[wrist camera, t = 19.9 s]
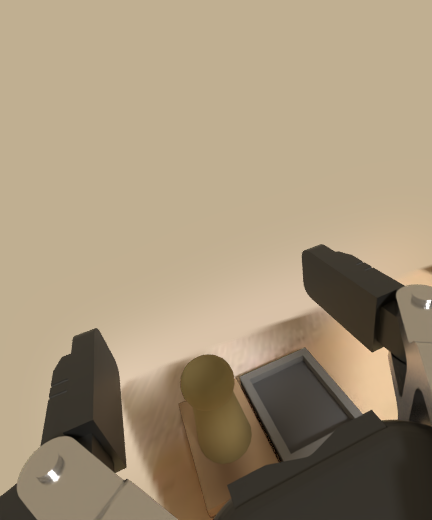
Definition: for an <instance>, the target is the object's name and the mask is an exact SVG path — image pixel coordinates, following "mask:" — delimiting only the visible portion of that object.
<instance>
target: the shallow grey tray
mask: <svg viewBox="0 0 432 520" xmlns="http://www.w3.org/2000/svg"><path fill="white" fill-rule="evenodd" d="M240 381H241V384H242V386H243V388H244V390H245V392H246V394H247V396H248V398H249V400H250V402H251V404H252V406H253V408H254V410H255V412H256V413H257V415H258V417H259V419H260V421H261V423H262V425H263V427H264V429H265V431H266V433H267V435H268V437H269V439H270V440H271V442H272V444H273V446H274V448H275V450H276V452H277V454H278V456H279V458H280V460H281V462H284V461H289V460H294V459H299V458H305V457H308V456H310V455H311V454H313V453H314V452H315V451H316V450H317V449H318V448H319V447H320V446H321V445H322V444H323V443H324V441H325V440H326V439H327V438H328V437H329V436H330V435H331V434H332V433H333V432H334V431H335V430H336V429H337V428H338V427H340V426H341V425H343V424H345V423H347V422H349V421H351V420H353V419H355V418H357V417H359V416H361V415H363V414H362V413H361V412H360V410H359V409H358V408H357V407H356V406H355V405H354V403H353V402H352V401H351V400H350V399H349V398H348V396H347V395H346V394H345V393H344V392H343V391H342V390H341V388H340V387H339V386H338V385H337V384H336V383H335V381H334V380H333V379H332V378H331V377H330V376H329V374H328V373H327V372H326V371H325V370H324V369H323V368H322V366H321V365H320V364H319V363H318V362H317V361H316V359H315V358H314V357H313V356H312V355H311V354H310V352H309V351H308V350H307V349H306V348H303V349H300V350H298V351H296V352H294V353H291V354H289V355H287V356H285V357H282V358H280V359H278V360H276V361H274V362H271V363H269V364H267V365H265V366H262V367H260V368H258V369H256V370H253V371H251V372H249V373H247V374H244V375H242V376H240Z"/></svg>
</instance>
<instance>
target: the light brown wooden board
mask: <svg viewBox="0 0 432 520" xmlns="http://www.w3.org/2000/svg"><path fill="white" fill-rule="evenodd" d="M234 382H235V384H234V389H233V392H234V394H235V396H236V398H237V400H238V402H239V404H240V406H241V408H242V410H243V412H244V414H245V416H246V418H247V420H248V422H249V424H250V426H251V432H252V437H251V443H250V445H249V447H248V449H247V451H246V452H245V453H244V454H243V455H242V456H241V457H240V458H239V459H237V460H236V461H234V462H232V463H226V464H220V463H215V462H213V461H211V460H209V459H208V458H206V456H205V455H204V454H203V452H202V451H201V448H200V445H199V441H198V435H197V429H196V424H195V418H194V412H193V407H192V406H191V405H190V404H189V403H188V402H187V401H184V402H182V403H180V404H179V408H180V412H181V415H182V419H183V423H184V426H185V430H186V434H187V437H188V441H189V445H190V449H191V452H192V456H193V460H194V463H195V467H196V471H197V474H198V478H199V482H200V486H201V489H202V493H203V497H204V500H205V504H206V508H207V511H208V513H209V515H210V517H213V516H215V515H216V514H217V513H218V512H219V511H220V509H221V508H222V507H223V506H224V505H225V504H226V503H227V502H228V501H229V500H230V499H231V496H230V493H229V490H228V487H227V485H228V484H230V483H232V482H234V481H236V480H238V479H239V478H241V477H243V476H245V475H247V474H249V473H251V472H253V471H255V470H257V469H259V468H261V467H263V466H264V465H268V464H273V463H279V462H278V460H277V458H276V456H275V454H274V452H273V450H272V448H271V446H270V444H269V442H268V440H267V438H266V436H265V434H264V432H263V430H262V428H261V426H260V424H259V422H258V420H257V418H256V417H255V415H254V413H253V411H252V409H251V407H250V405H249V403H248V401H247V399H246V397H245V395H244V393H243V391H242V389H241V387H240V385H239V383H238V381H237V379H234Z"/></svg>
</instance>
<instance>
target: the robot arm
mask: <svg viewBox="0 0 432 520" xmlns="http://www.w3.org/2000/svg"><path fill="white" fill-rule="evenodd" d="M302 266H303V282H304V287H305V290H306V292H307V294H308V295H309V296H310V297H311V298H312V299H313V300H314V301H315V302H316V303H317V304H318V305H319V306H321V307H322V308H323V309H324V310H325V311H326V312H327V313H328V314H330V315H331V316H332V317H333V318H334V319H335V320H336V321H337V322H338V323H340V324H341V325H342V326H343V327H344V328H345V329H346V330H347V331H349V332H350V333H351V334H352V335H353V336H354V337H355V338H356V339H358V340H359V341H360V342H361V343H362V344H363V345H364V346H365V347H367V348H368V349H369V350H370V351H371V352H374V351H376V350H378V349H380V348H382V347H385V348H386V349H388V350H389V353H388V359H389V365H390V370H391V375H392V380H393V385H394V390H395V396H396V401H397V407H398V420H382V421H381V420H380V419H379V418H378V416H377V415H376V414H375V413H374V412H373V411H372V410H370V411H368V412H367V413H365V414H363V415H361V416H359V417H357V418H355V419H353V420H351V421H349V422H347V423H345V424H343V425H341V426H340V427H338V428H337V429H336V430H335V431H334V432H333V433H332V434H331V435H330V436H329V437H328V438H327V439H326V440H325V441H324V443H323V444H322V445H321V446H320V447H319V448H318V449H317V450H316V451H315V452H314V453H313V454H311V455H310V456H308V457H305V458H299V459H294V460H289V461H284V462H279V463H273V464H268V465H264V466H263V467H261V468H259V469H257V470H255V471H253V472H251V473H249V474H247V475H245V476H243V477H241V478H239V479H238V480H236V481H234V482H232V483H230V484H228V485H227V487H228V490H229V493H230V496H231V499H230V500H229V501H228V502H227V503H226V504H225V505H224V506H223V507H222V508H221V509H220V511H219V512H218V513H217V514H216V516H215V518H214V519H213V520H432V287H431V286H427V285H408V286H404V285H402V284H401V283H399V282H397V281H395V280H394V279H392V278H390V277H389V276H387V275H385V274H383V273H381V272H380V271H378V270H376V269H375V268H371V266H370V265H368V264H366V263H363V262H362V261H361V260H359V259H358V258H356V257H354V256H352V255H349V254H345V253H342V252H335V251H333V250H331V249H330V248H328V247H326V246H325V245H322V244H321V245H318V246H315V247H313V248H310V249H307V250H305V251H303V253H302ZM51 387H52V388H50V394H49V398H50V399H49V401H48V406H47V411H46V418H45V423H44V429H43V435H42V441H41V446H40V448H38V449H37V450H36V451H35V452H34V453H33V454H32V455H31V456H30V458H29V459H28V460H27V462H26V463H25V465H24V466H23V468H22V470H21V472H20V475H19V478H18V482H17V484H15V485H14V486H13V487H12V488H11V489H10V490H8V491H7V492H6V493H4V494H3V495H2V496H0V520H178V519H177V518H176V517H174V516H173V515H172V514H171V513H169V512H168V511H167V510H166V509H165V508H163V507H162V506H161V505H160V504H158V503H157V502H156V501H155V500H154V499H152V498H151V497H150V496H149V495H147V494H146V493H145V492H144V491H143V490H141V489H140V488H139V487H138V486H136V485H135V484H134V483H132V482H131V481H129V480H128V479H126V480H123V479H122V478H120V477H119V476H118V475H117V474H115V473H116V472H118V471H120V470H122V469H125V468H126V456H125V442H124V429H123V417H122V404H121V391H120V378H119V371H118V367H117V364H116V361H115V359H114V357H113V355H112V353H111V351H110V350H109V348H108V346H107V344H106V342H105V340H104V339H103V337H102V335H101V333H100V331H99V330H98V329H97V328H95V329H92V330H90V331H87V332H84V333H82V334H79V335H76V336H74V337H73V342H72V351H71V354H69V355H66V356H64V357H62V358H61V360H60V361H59V363H58V364H57V366H56V368H55V370H54V371H53V376H52V383H51Z"/></svg>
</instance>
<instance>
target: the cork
mask: <svg viewBox="0 0 432 520" xmlns="http://www.w3.org/2000/svg"><path fill="white" fill-rule="evenodd" d="M234 384H235V382H234V375H233V371H232V369H231V367H230V366H229V364H228V363H227V362H226V361H225V360H224V359H223V358H221V357H218V356H216V355H208V354H207V355H202V356H199V357H197V358H195V359H193V360H192V361H191V362H189V363H188V365H187V366H186V367H185V369H184V371H183V373H182V376H181V391H182V394H183V396H184V399H185V400H186V401H187V402H188V403H189V404H190V405H191V406H192V407H193V412H194V418H195V424H196V429H197V435H198V441H199V445H200V448H201V451H202V452H203V454H204V455H205V456H206V458H208V459H209V460H211V461H213V462H215V463H220V464H226V463H232V462H234V461H236V460H237V459H239V458H240V457H241V456H242V455H243V454H244V453H245V452H246V451H247V449H248V447H249V445H250V443H251V437H252V432H251V426H250V424H249V422H248V420H247V418H246V416H245V414H244V412H243V410H242V408H241V406H240V404H239V402H238V400H237V398H236V396H235V394H234V392H233V389H234Z"/></svg>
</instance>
